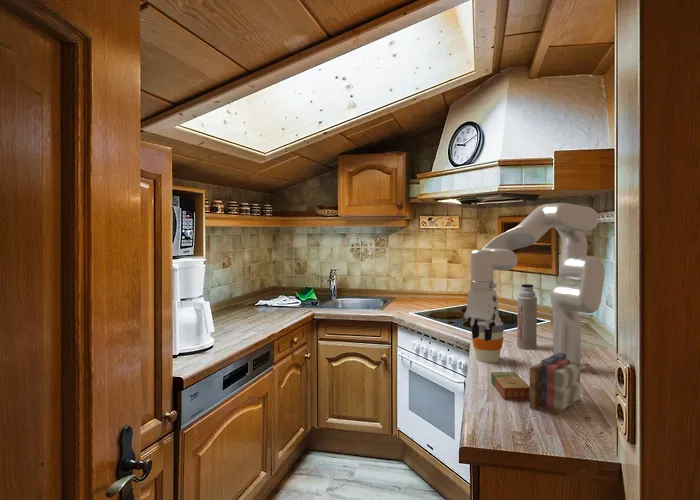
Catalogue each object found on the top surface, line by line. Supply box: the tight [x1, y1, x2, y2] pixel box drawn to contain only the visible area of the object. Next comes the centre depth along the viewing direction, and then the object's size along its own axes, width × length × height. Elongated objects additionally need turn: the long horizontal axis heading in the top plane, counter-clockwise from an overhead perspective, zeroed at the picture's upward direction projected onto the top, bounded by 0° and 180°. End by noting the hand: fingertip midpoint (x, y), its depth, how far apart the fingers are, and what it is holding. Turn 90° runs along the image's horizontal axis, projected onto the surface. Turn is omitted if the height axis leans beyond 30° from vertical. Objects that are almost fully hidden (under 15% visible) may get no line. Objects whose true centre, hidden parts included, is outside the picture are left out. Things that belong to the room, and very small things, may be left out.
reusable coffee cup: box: [472, 319, 505, 364], centre depth 179 cm, size 13×13×15 cm
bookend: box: [529, 353, 581, 416], centre depth 133 cm, size 18×8×14 cm, turn 131°
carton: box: [490, 371, 530, 401], centre depth 145 cm, size 8×16×4 cm, turn 177°
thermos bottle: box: [516, 283, 538, 350], centre depth 196 cm, size 8×8×28 cm
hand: (481, 338), depth 152 cm, fingers open, 4 cm apart
